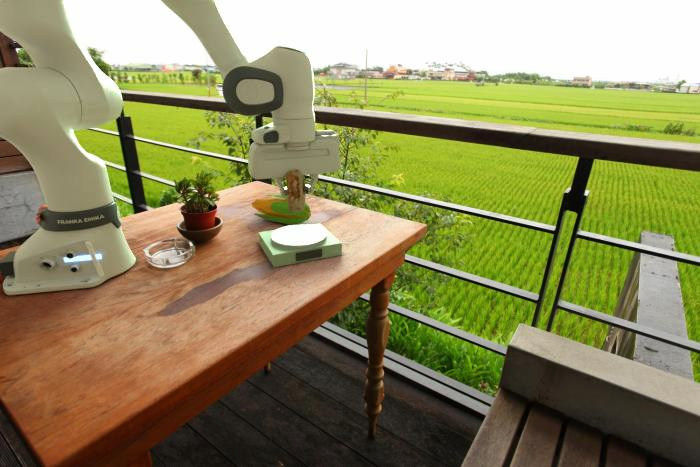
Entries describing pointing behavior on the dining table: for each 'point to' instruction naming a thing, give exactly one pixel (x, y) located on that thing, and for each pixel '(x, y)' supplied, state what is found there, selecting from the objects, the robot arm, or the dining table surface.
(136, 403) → the dining table surface
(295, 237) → the scale
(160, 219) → the dining table surface
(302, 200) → the stone disc
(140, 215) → the dining table surface
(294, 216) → the corn
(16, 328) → the dining table surface
